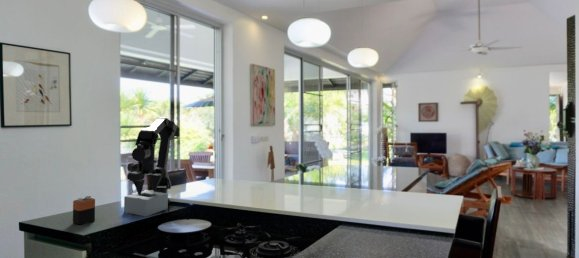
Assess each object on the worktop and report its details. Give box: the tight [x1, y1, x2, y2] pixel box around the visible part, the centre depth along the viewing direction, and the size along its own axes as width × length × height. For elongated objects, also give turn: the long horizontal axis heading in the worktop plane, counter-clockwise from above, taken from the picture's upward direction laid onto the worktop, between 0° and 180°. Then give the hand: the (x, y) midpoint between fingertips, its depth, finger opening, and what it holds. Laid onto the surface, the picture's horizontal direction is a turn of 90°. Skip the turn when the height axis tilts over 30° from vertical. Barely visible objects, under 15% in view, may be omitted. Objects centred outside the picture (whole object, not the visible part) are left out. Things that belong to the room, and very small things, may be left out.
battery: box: [72, 195, 96, 225], centre depth 153 cm, size 4×7×10 cm, turn 154°
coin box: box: [123, 189, 169, 217], centre depth 173 cm, size 14×12×7 cm
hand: (146, 192), depth 173 cm, fingers open, 9 cm apart
